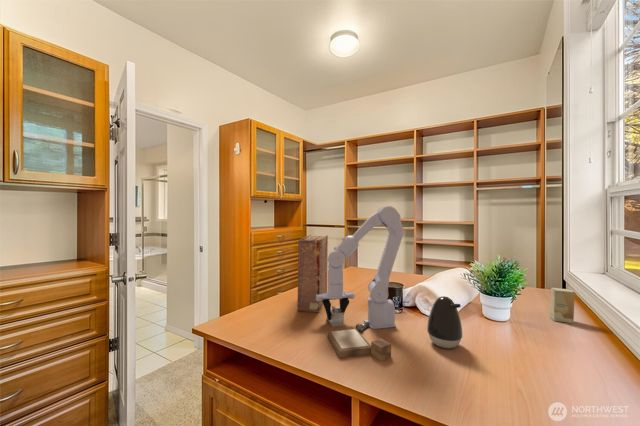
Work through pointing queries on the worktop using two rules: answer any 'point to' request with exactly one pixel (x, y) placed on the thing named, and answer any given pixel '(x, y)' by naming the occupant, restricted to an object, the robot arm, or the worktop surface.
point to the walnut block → (381, 349)
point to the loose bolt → (362, 326)
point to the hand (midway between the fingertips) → (335, 318)
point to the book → (312, 272)
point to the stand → (349, 343)
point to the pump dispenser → (445, 323)
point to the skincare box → (562, 305)
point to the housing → (336, 316)
